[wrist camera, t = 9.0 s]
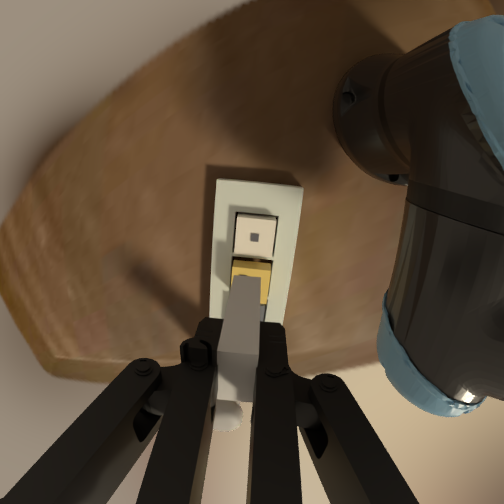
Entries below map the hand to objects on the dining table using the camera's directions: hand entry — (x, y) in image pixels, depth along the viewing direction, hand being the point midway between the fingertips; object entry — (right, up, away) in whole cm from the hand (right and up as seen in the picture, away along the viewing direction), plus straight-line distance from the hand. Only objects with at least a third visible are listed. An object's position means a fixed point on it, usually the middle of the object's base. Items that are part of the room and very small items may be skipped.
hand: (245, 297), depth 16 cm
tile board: (0, +2, +18) cm, 18 cm away
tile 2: (0, 0, +16) cm, 16 cm away
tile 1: (+1, +5, +16) cm, 17 cm away
